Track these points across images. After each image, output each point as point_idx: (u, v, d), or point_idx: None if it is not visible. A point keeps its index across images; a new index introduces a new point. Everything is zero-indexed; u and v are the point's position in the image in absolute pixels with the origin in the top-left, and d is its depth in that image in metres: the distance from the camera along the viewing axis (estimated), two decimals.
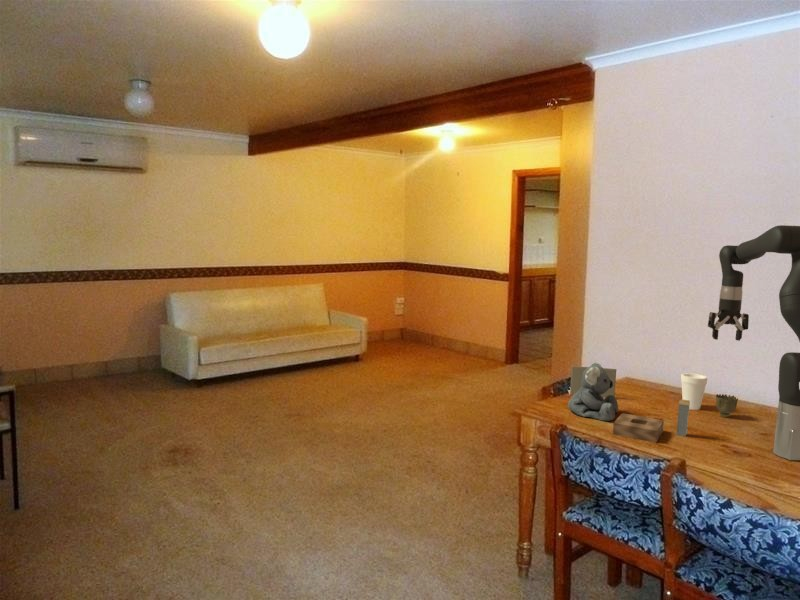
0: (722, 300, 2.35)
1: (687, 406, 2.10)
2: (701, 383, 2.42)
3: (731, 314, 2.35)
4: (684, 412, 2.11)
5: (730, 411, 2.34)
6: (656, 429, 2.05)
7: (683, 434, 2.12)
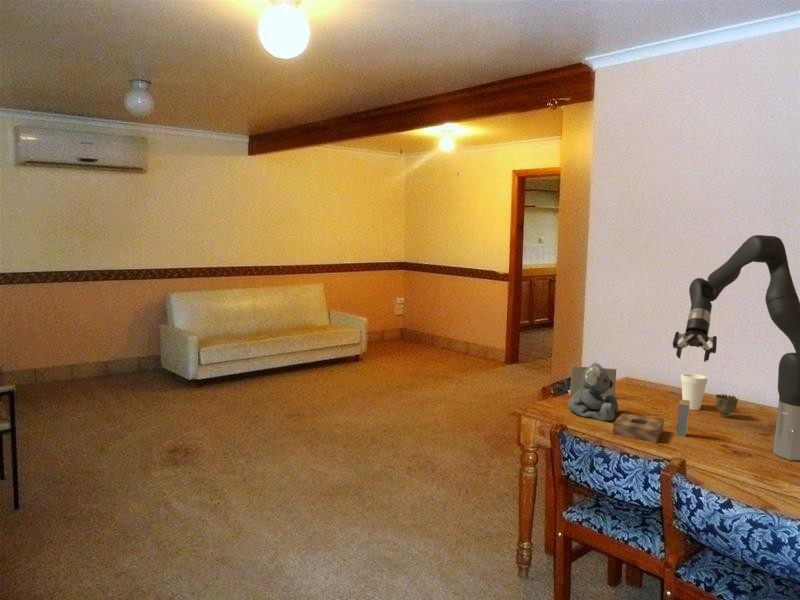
0: (687, 322, 2.30)
1: (687, 406, 2.10)
2: (701, 383, 2.42)
3: (696, 335, 2.25)
4: (684, 412, 2.11)
5: (730, 411, 2.34)
6: (656, 429, 2.05)
7: (683, 434, 2.12)
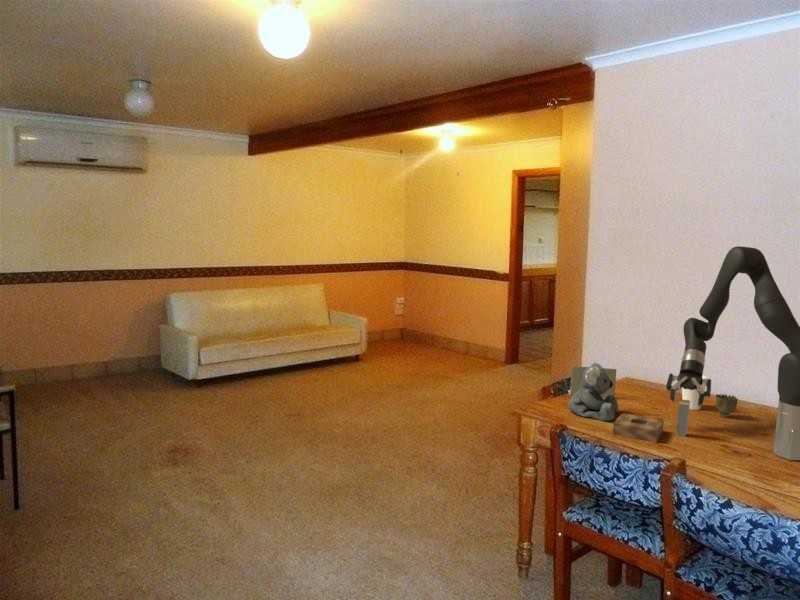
0: (681, 363, 2.25)
1: (687, 406, 2.10)
2: None
3: (691, 377, 2.20)
4: (684, 412, 2.11)
5: (730, 411, 2.34)
6: (656, 429, 2.05)
7: (683, 434, 2.12)
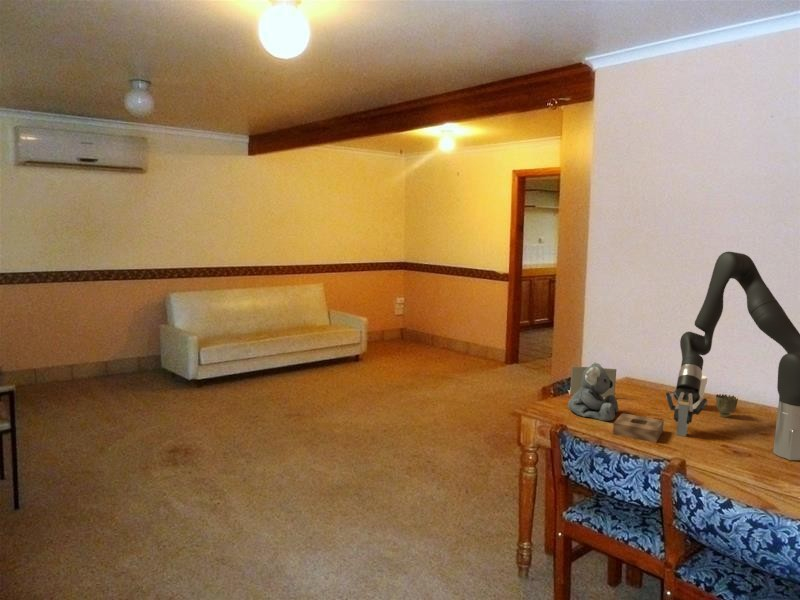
0: (678, 379, 2.21)
1: (687, 406, 2.10)
2: (701, 383, 2.42)
3: (687, 393, 2.16)
4: (684, 412, 2.11)
5: (730, 411, 2.34)
6: (656, 429, 2.05)
7: (683, 434, 2.12)
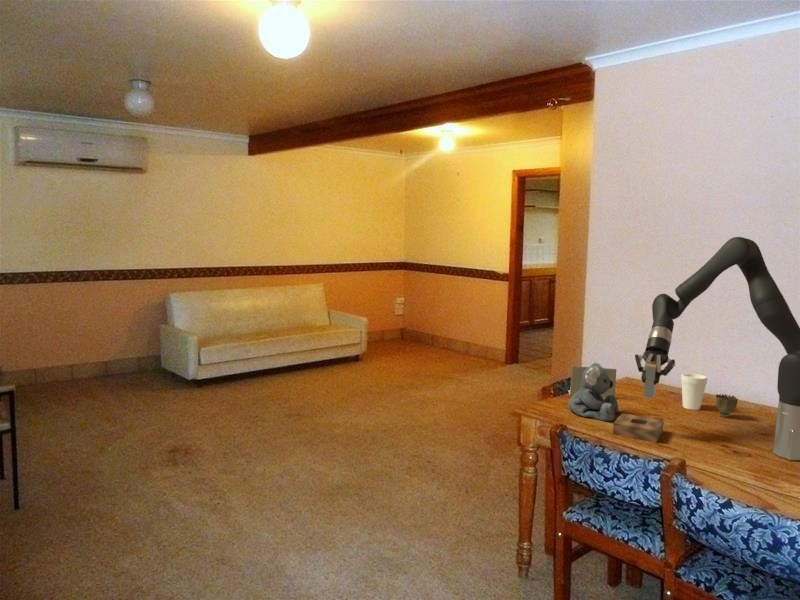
0: None
1: (654, 368, 2.09)
2: (701, 383, 2.42)
3: (656, 355, 2.15)
4: (651, 374, 2.10)
5: (730, 411, 2.34)
6: (656, 429, 2.05)
7: (650, 396, 2.12)
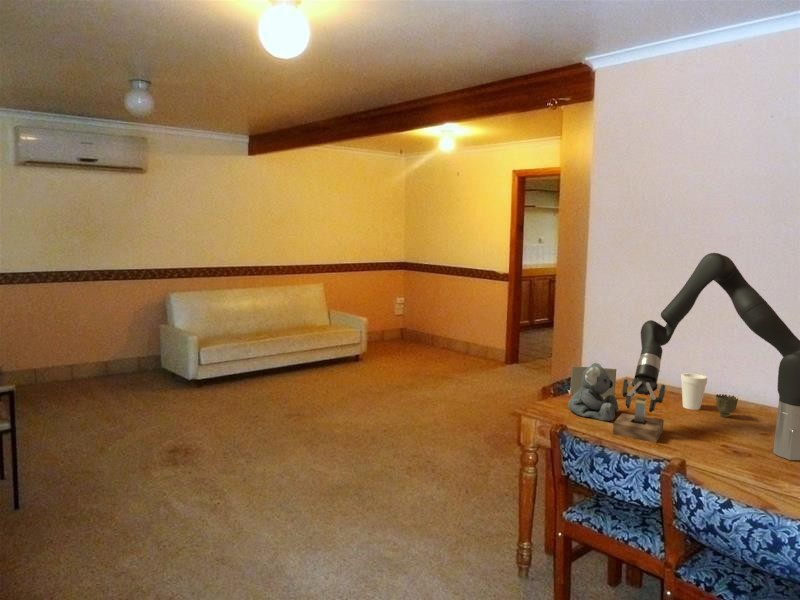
0: None
1: (643, 404, 2.11)
2: (701, 383, 2.42)
3: (645, 382, 2.16)
4: (640, 410, 2.11)
5: (730, 411, 2.34)
6: (656, 429, 2.05)
7: None
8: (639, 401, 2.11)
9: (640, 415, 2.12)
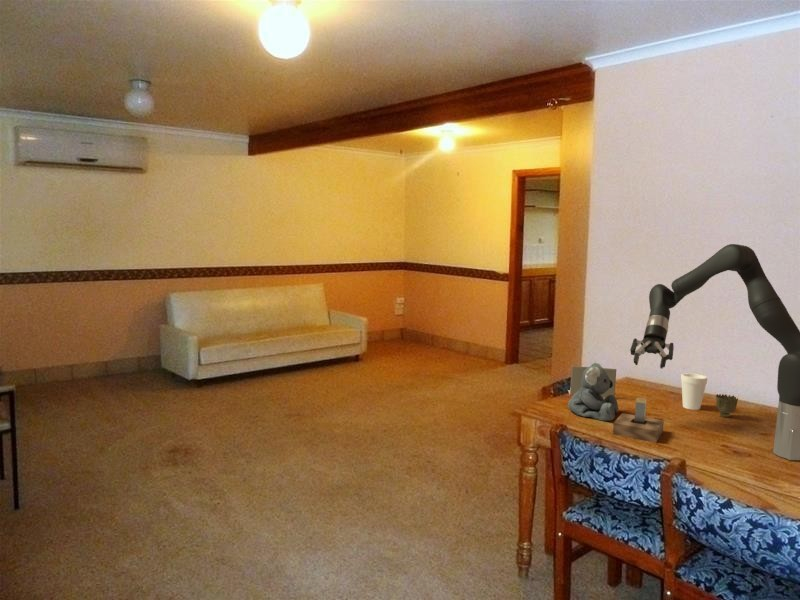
0: (645, 329, 2.30)
1: (644, 404, 2.11)
2: (701, 383, 2.42)
3: (654, 341, 2.25)
4: (640, 410, 2.12)
5: (730, 411, 2.34)
6: (656, 429, 2.05)
7: None
8: (639, 401, 2.12)
9: (640, 415, 2.12)
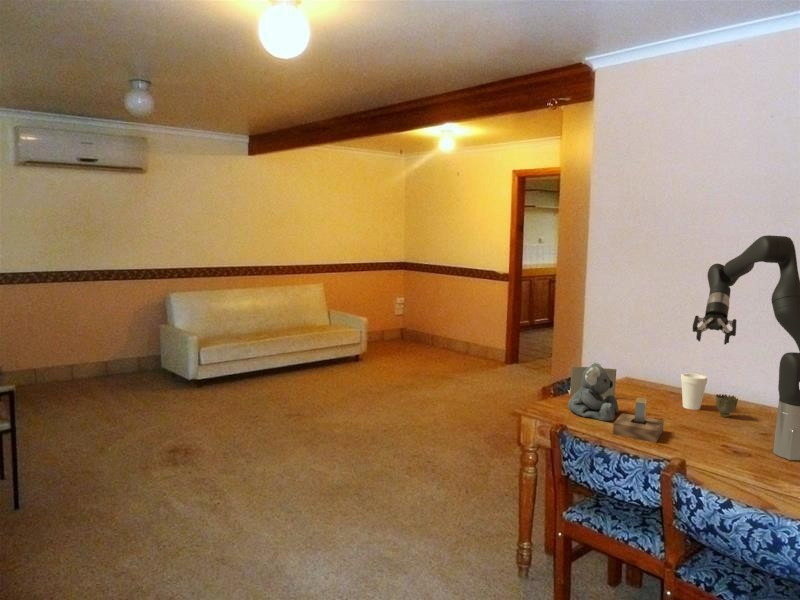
0: (706, 306, 2.33)
1: (644, 404, 2.11)
2: (701, 383, 2.42)
3: (716, 318, 2.28)
4: (641, 410, 2.12)
5: (730, 411, 2.34)
6: (656, 429, 2.05)
7: None
8: (639, 401, 2.12)
9: (640, 415, 2.12)
